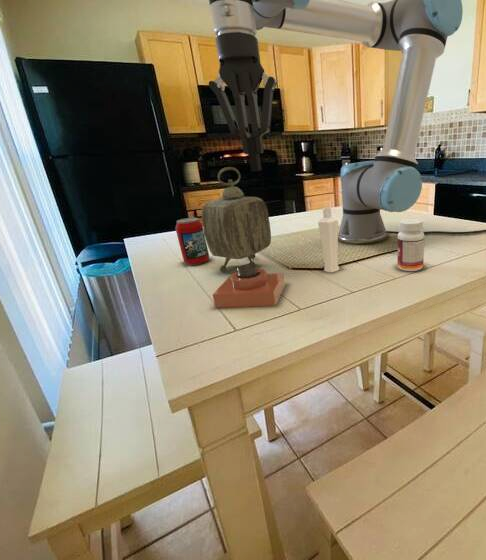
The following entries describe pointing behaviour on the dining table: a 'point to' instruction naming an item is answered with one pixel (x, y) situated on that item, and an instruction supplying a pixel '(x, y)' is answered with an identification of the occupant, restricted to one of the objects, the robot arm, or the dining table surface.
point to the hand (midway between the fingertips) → (256, 170)
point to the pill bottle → (410, 245)
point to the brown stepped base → (250, 290)
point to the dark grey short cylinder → (247, 271)
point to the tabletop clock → (235, 224)
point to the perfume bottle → (329, 240)
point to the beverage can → (192, 241)
